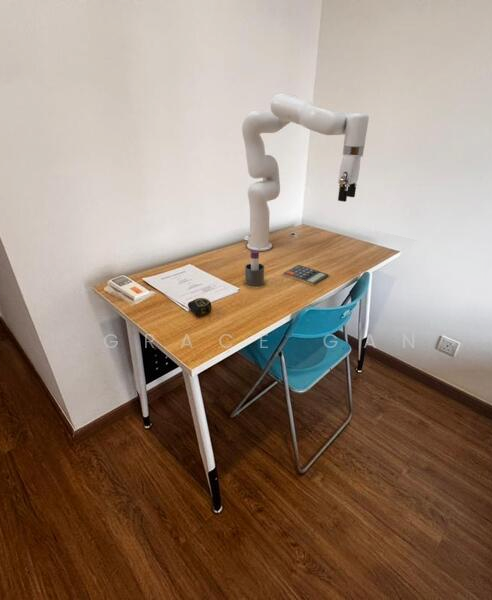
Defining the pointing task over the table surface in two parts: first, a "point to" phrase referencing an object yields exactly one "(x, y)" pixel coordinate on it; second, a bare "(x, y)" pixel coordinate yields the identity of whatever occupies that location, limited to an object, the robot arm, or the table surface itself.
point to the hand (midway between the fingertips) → (346, 198)
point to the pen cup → (254, 276)
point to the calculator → (306, 274)
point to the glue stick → (254, 260)
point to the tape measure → (200, 306)
